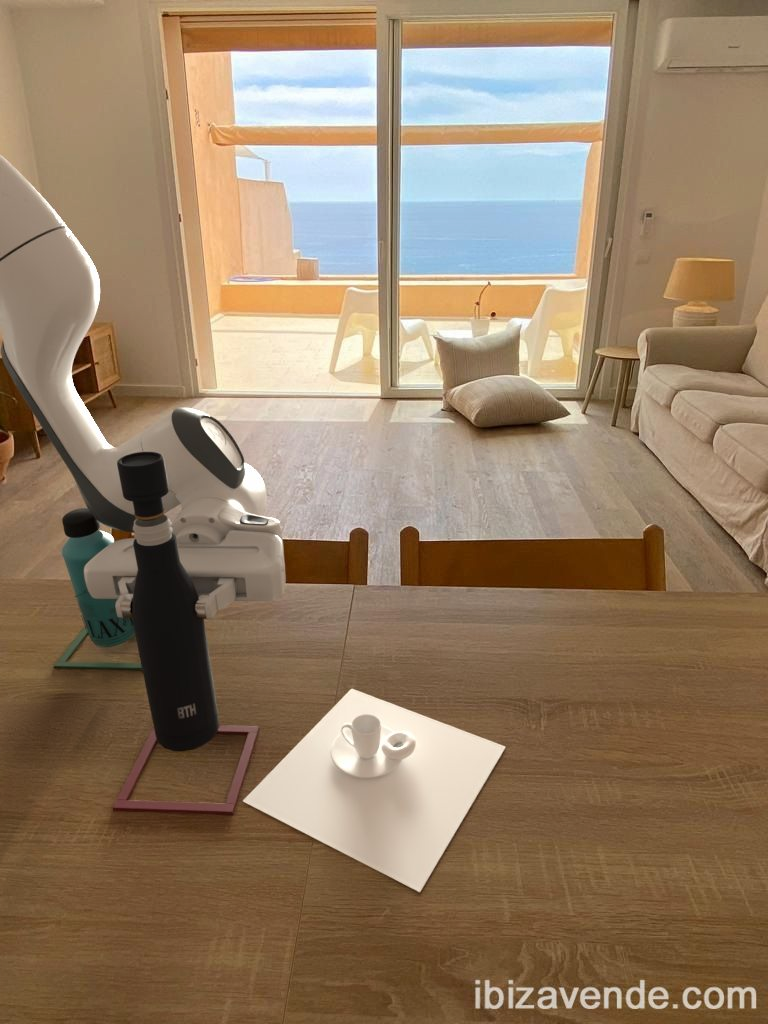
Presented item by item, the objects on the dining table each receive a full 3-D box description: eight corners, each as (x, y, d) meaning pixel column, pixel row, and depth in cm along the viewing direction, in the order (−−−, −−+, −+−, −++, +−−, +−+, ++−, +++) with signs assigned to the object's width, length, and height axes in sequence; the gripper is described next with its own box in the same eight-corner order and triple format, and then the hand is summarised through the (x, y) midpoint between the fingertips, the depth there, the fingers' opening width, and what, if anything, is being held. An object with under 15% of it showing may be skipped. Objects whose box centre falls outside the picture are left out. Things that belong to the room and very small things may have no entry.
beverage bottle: (82, 653, 92) (36, 526, 82) (110, 621, 98) (70, 498, 87) (125, 660, 91) (84, 531, 80) (151, 626, 96) (116, 502, 86)
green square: (54, 668, 89) (53, 665, 89) (94, 617, 100) (94, 614, 100) (145, 670, 89) (144, 668, 88) (176, 618, 99) (175, 616, 99)
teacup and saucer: (424, 745, 76) (424, 716, 74) (387, 795, 69) (386, 764, 68) (356, 718, 80) (355, 690, 78) (315, 763, 74) (313, 733, 72)
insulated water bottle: (188, 701, 76) (143, 442, 64) (232, 721, 73) (194, 453, 60) (142, 737, 71) (84, 464, 59) (188, 760, 68) (136, 477, 56)
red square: (112, 810, 68) (112, 807, 68) (155, 726, 79) (155, 723, 79) (232, 814, 68) (232, 811, 67) (259, 728, 79) (259, 726, 78)
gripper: (110, 518, 77) (48, 581, 64) (293, 519, 76) (266, 584, 63) (120, 567, 79) (63, 638, 67) (297, 570, 78) (272, 642, 66)
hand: (163, 612), depth 65 cm, fingers closed on insulated water bottle, 6 cm apart
